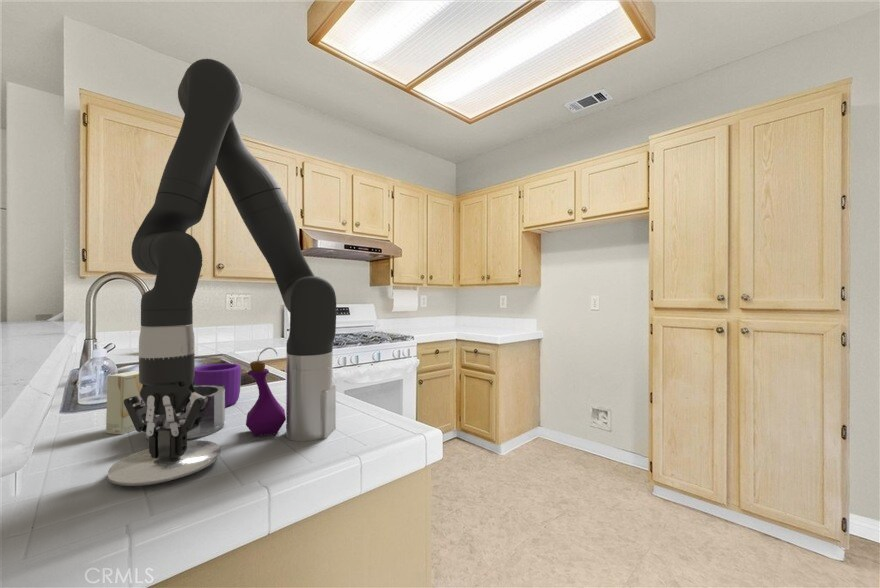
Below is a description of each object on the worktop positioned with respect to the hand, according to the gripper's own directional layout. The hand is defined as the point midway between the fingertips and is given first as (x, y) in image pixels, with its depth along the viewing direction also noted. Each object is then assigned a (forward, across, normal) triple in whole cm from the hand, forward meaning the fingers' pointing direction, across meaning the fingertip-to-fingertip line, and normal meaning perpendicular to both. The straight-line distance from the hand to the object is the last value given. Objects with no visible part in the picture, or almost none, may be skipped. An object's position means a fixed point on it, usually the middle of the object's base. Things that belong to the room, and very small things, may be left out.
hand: (168, 455), depth 63 cm
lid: (+2, 0, 0) cm, 2 cm away
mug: (+3, +18, -39) cm, 43 cm away
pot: (+2, +10, -18) cm, 21 cm away
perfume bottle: (+3, -7, -18) cm, 20 cm away
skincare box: (+3, +23, -18) cm, 30 cm away
